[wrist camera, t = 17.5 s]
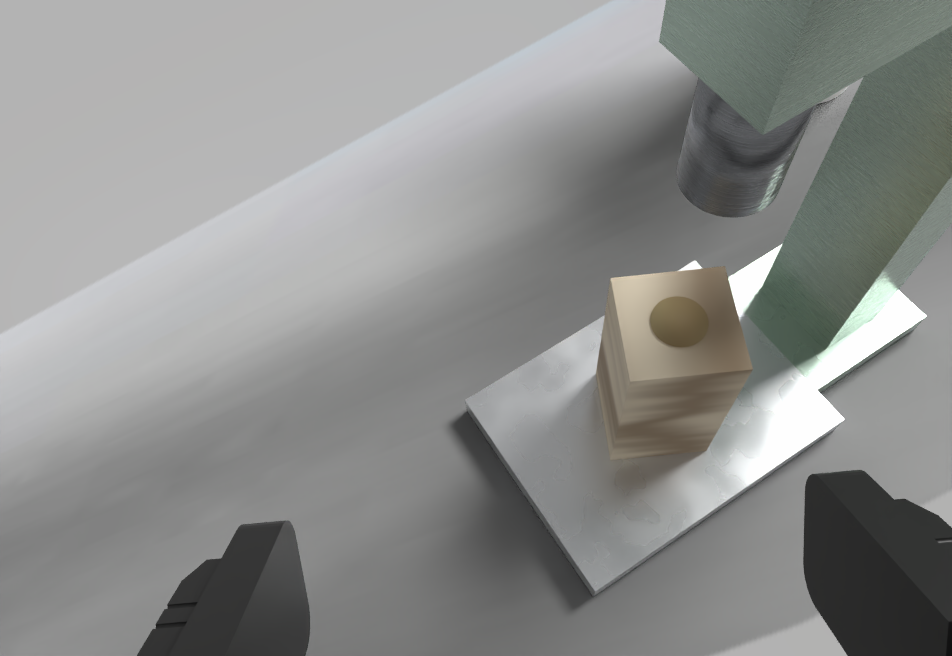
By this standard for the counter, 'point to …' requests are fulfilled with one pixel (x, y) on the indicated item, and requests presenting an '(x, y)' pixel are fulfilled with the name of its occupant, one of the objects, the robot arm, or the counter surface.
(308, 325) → the counter surface
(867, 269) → the press
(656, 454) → the block
